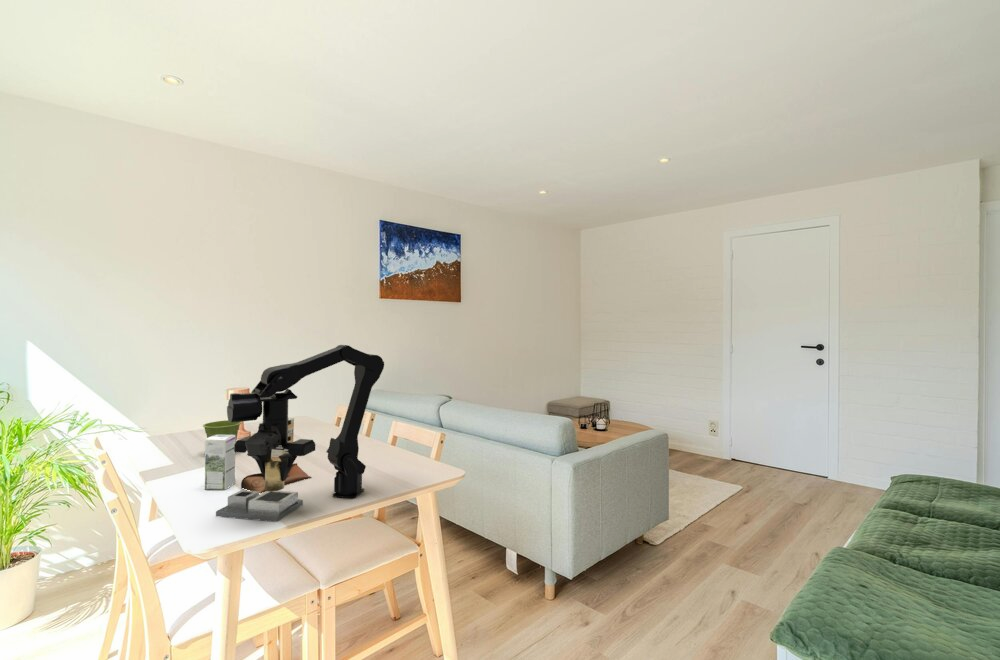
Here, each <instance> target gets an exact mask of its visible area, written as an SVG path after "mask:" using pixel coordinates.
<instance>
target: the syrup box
mask: <svg viewBox="0 0 1000 660" xmlns="http://www.w3.org/2000/svg"><path fill="white" fill-rule="evenodd" d="M236 441H237V440H236V436H235V435H213V436H211V437H209V438H207V437H206V438H205V442H204V443H205V444H204V447H205V448H204V449H205V450H204V453H205V454H204V455H205V457H204V490H207V491H208V490H211V491H213V490H215V491H216V490H217V491H223V490H224V491H225V490H226V488H227V489H229V488H230V487H232V486H233V485H232V484H234V483H235V484H236V452H234V445H235V443H236ZM235 484H234V485H235ZM231 485H232V486H231ZM229 486H230V487H229ZM228 487H229V488H228Z"/></svg>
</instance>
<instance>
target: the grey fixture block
mask: <svg viewBox="0 0 1000 660" xmlns="http://www.w3.org/2000/svg"><path fill="white" fill-rule="evenodd" d="M303 504H304V499H299V492H298V491H290V490H289V491H288V490H286V491H285V490H278V491H266V492H263V493H260V494H259V491H247V490H244V489H241V490H239V491H237V492H235V493H233V494H230V495H228V496H227V504H226V506H224V507H222V508H219V509H218V510H216V511H215V517H217V516H222V517H221V518H229V517H235V518H234V519H240V518H248V519H247V520H252V519H260V520H259V521H263V520H267V522H275V521H276V522H279V521H280V520H282V519H283V518H285V517H286V516H288V515H289V514H291V513H292V512H293V511H295V510H297V509H298V508H300V507H301V506H303Z"/></svg>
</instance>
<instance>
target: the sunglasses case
mask: <svg viewBox="0 0 1000 660" xmlns="http://www.w3.org/2000/svg"><path fill="white" fill-rule="evenodd" d="M308 478H309V479H312V476H309V475H308V473H306V472H305V471H304V470H303V469H302V468H301V467H300V466H299V465H298V463H297V462H294V463H293V465H292V467H291V469H290V471H289V473H288V475H287V478H286V480H285V481H284V486H288V485H291V484H295V483H297V481H298V482H300V481H305V480H309V479H308ZM304 479H305V480H304ZM290 483H291V484H290ZM287 484H288V485H287ZM240 488H241V489H242V488H244V489H247V490H250V491H259V493H260V494H263V493H265V480H264V479H263V476H262V473H261V472H259V473H253V474H249V475H247V476H245V477H243V478H242V480H241V483H240ZM244 489H243V490H244ZM262 492H263V493H262Z"/></svg>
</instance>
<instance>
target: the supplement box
mask: <svg viewBox="0 0 1000 660" xmlns="http://www.w3.org/2000/svg"><path fill="white" fill-rule="evenodd" d="M288 420H291V424H290V425H288V436H291V440H290V441H288V442H289V443H292V442H294V437H295V435H294V434H295V432H294V429H295V428H294V427H295V426H294V425H295V417H288ZM283 454H284V450H273V449H272V452H271V459H272V458H279V456H281V455H283Z"/></svg>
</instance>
